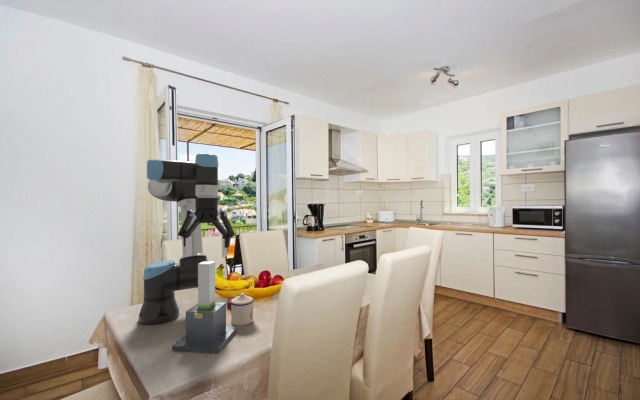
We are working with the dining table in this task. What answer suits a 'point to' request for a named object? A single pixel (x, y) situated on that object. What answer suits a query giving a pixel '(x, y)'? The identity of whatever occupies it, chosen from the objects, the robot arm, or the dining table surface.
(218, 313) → the stand
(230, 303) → the canned food
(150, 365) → the dining table surface
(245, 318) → the teacup with lid
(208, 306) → the post
